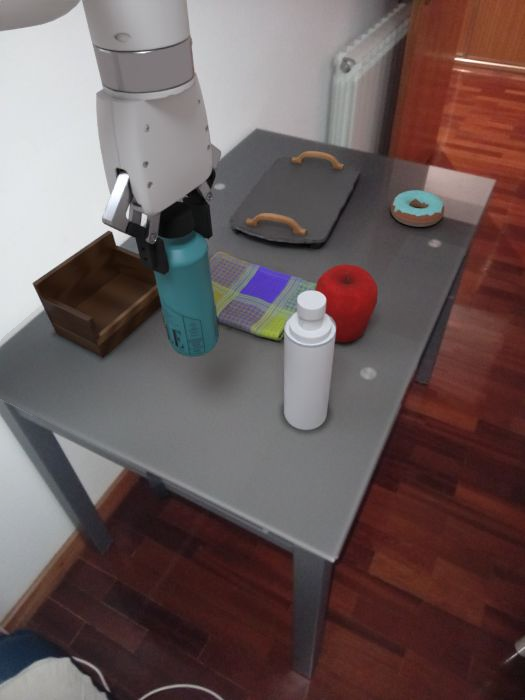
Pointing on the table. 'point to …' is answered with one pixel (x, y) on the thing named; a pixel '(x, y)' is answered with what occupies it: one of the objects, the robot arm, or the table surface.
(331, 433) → the table surface
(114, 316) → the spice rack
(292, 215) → the serving tray
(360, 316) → the apple
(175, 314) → the beverage bottle
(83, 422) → the table surface
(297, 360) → the spray bottle
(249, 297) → the dish towel
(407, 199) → the donut
